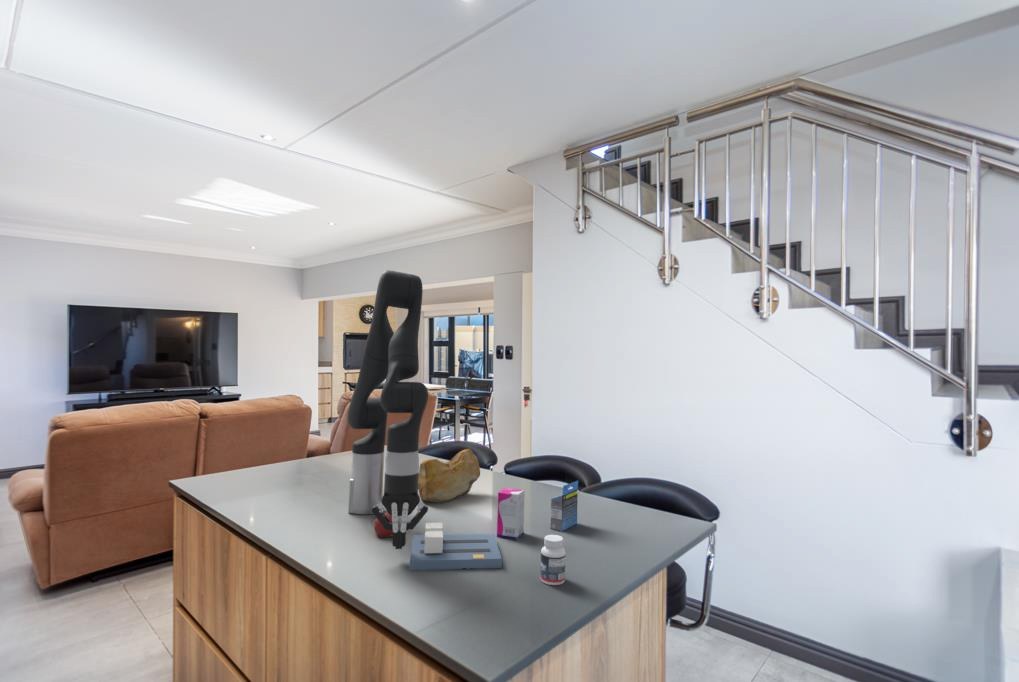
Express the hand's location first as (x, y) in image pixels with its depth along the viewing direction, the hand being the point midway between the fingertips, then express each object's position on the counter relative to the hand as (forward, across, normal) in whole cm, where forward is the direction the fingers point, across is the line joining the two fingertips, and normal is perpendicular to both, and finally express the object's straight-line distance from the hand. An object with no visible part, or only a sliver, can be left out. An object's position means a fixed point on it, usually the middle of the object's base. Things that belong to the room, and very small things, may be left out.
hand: (399, 547), depth 115 cm
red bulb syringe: (+3, -5, +17) cm, 18 cm away
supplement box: (+3, +28, +16) cm, 32 cm away
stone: (+3, +11, +55) cm, 56 cm away
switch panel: (+3, +13, +3) cm, 13 cm away
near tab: (+1, +8, 0) cm, 8 cm away
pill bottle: (+3, +33, -12) cm, 35 cm away
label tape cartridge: (+3, +44, +22) cm, 49 cm away
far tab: (+1, +8, +6) cm, 10 cm away
